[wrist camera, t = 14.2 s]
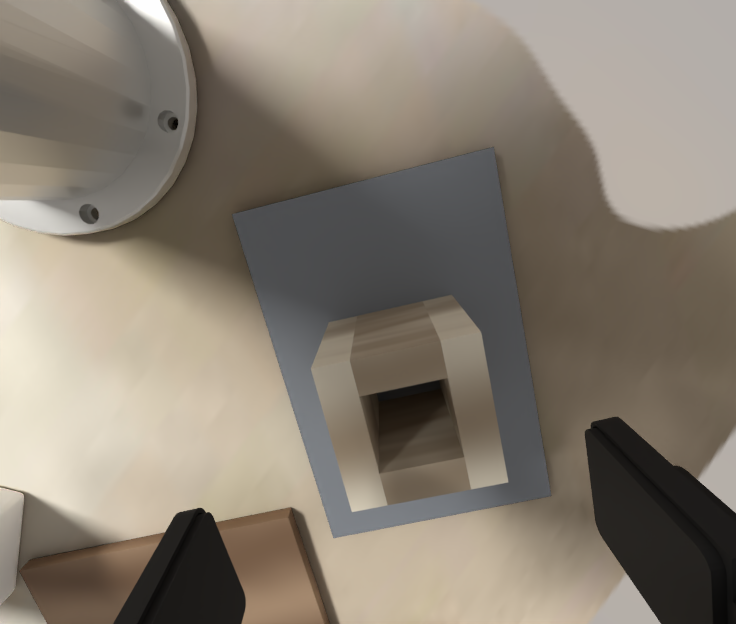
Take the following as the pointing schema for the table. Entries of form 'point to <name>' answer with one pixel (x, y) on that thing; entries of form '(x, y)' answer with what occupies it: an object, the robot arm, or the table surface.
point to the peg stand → (129, 558)
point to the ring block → (409, 404)
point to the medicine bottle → (9, 539)
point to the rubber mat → (393, 289)
